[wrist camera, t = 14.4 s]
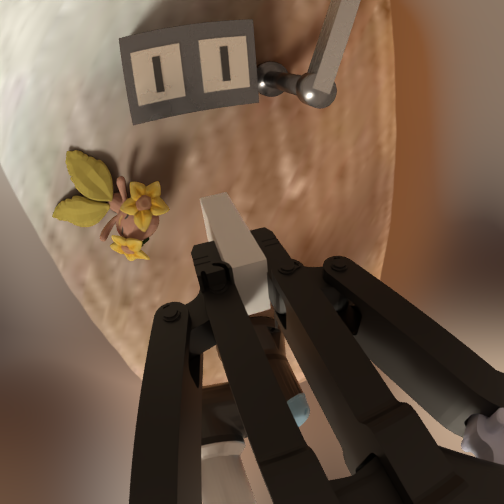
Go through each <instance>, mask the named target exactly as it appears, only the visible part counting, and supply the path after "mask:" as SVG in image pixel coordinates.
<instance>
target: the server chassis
mask: <svg viewBox="0 0 504 504" xmlns="http://www.w3.org/2000/svg"><path fill="white" fill-rule="evenodd" d="M119 44H120V52H121V59H122V66H123V72H124V78H125V84H126V90H127V96H128V102H129V107H130V112H131V118H132V123H133V125H137V124H141V123H145V122H149V121H153V120H158V119H162V118H167V117H171V116H176V115H181V114H186V113H191V112H197V111H203V110H208V109H215V108H221V107H228V106H235V105H243V104H251V103H259V95H258V81H257V67H256V54H255V41H254V28H253V19H248V20H229V21H217V22H206V23H197V24H190V25H183V26H176V27H170V28H164V29H159V30H153V31H149V32H144V33H139V34H135V35H131V36H126V37H122V38H119Z"/></svg>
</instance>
